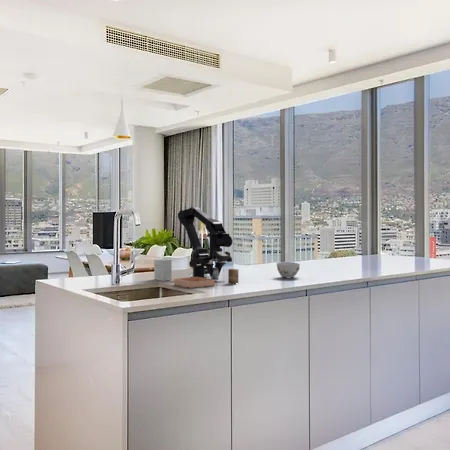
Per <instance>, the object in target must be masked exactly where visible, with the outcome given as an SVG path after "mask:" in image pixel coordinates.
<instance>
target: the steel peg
mask: <svg viewBox="0 0 450 450" xmlns="http://www.w3.org/2000/svg"><path fill="white" fill-rule="evenodd" d="M219 278H220V274H219V268H218V267H216V266H214V267H212V277H210V279H213V280H215V281H216V280H219Z"/></svg>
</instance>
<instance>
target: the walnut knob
mask: <svg viewBox="0 0 450 450" xmlns="http://www.w3.org/2000/svg"><path fill="white" fill-rule="evenodd" d="M227 272H228V278H227V279H228V283H231V284H230V285H237V284H236V283H238V284H239V269H238V268H229V269H228V271H227Z"/></svg>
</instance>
